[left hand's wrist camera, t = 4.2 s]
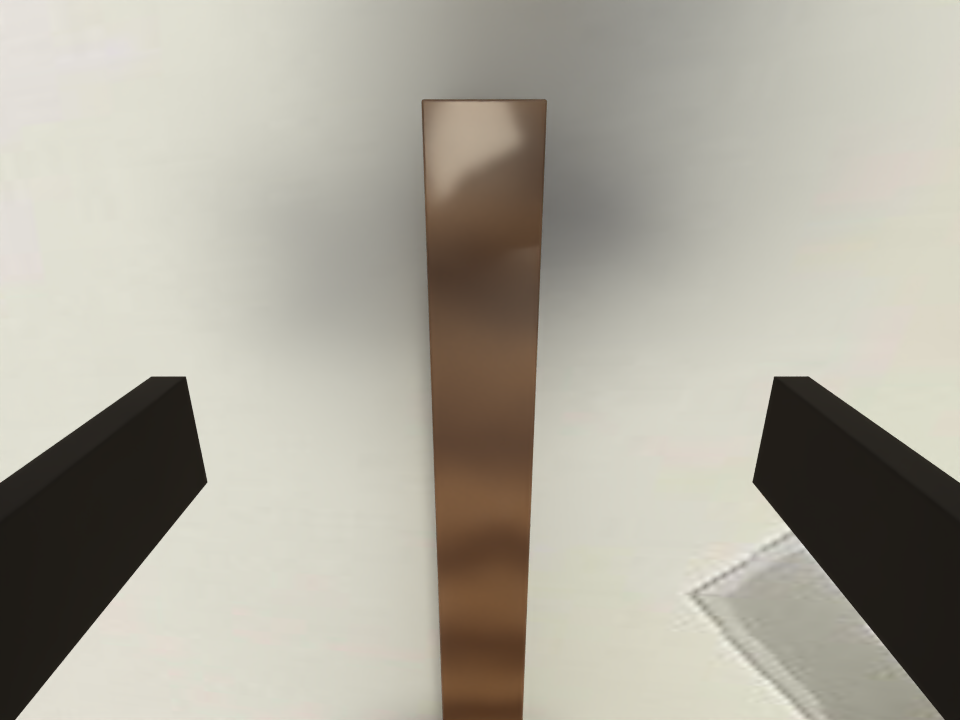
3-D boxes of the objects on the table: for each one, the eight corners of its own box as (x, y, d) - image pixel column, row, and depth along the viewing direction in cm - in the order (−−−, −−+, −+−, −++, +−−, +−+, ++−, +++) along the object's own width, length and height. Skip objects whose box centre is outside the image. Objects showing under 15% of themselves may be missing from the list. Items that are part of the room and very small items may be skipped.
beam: (437, 110, 27) (421, 99, 20) (531, 110, 27) (547, 99, 20) (454, 801, 45) (449, 918, 38) (510, 801, 45) (514, 919, 38)
